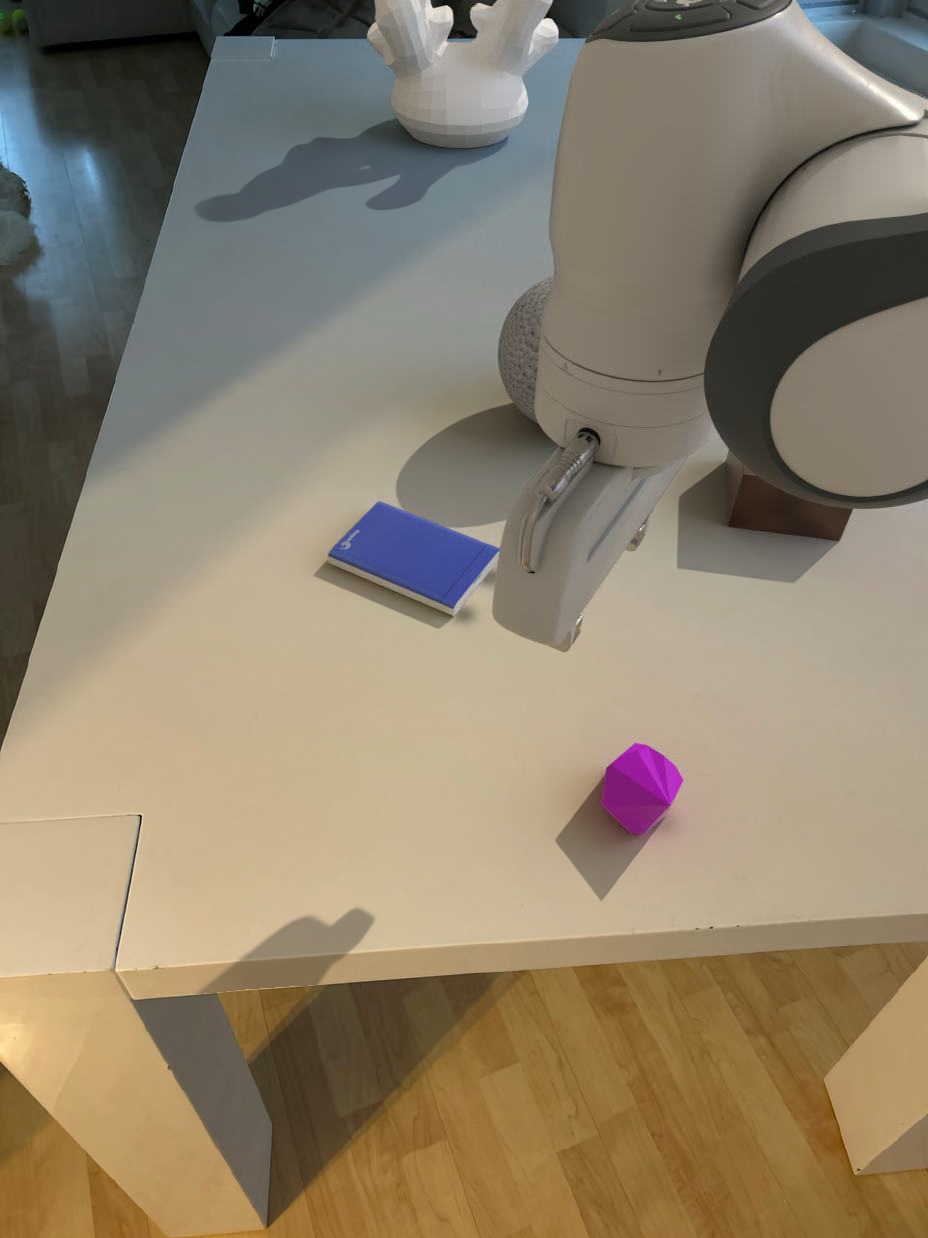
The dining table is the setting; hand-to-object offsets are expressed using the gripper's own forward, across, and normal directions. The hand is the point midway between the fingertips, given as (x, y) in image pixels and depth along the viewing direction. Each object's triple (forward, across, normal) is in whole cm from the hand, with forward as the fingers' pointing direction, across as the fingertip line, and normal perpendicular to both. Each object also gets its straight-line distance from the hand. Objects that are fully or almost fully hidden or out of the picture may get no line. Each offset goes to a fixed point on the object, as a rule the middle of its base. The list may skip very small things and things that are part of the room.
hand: (594, 588), depth 55 cm
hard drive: (+18, +12, +20) cm, 30 cm away
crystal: (+18, -1, -6) cm, 19 cm away
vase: (+18, +100, +67) cm, 122 cm away
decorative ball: (+18, +38, +18) cm, 46 cm away
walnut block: (+18, +37, -4) cm, 41 cm away
